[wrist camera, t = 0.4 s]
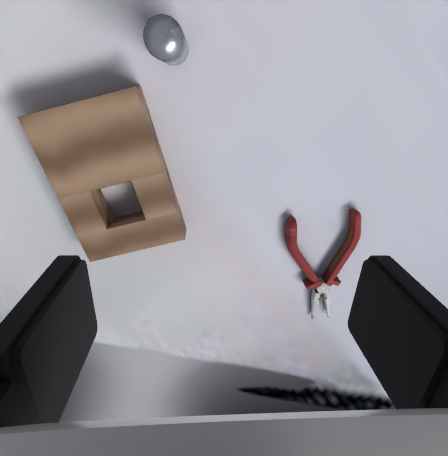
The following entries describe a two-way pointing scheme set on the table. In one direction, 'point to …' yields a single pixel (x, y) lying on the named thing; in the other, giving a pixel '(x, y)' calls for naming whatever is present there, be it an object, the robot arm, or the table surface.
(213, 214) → the table surface
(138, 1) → the table surface
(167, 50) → the pin
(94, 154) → the socket block
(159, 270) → the table surface
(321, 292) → the pliers
